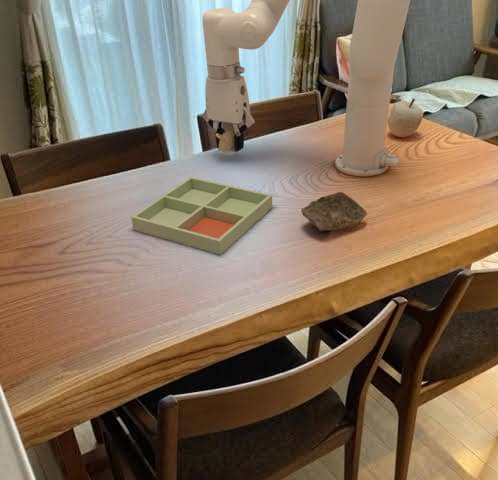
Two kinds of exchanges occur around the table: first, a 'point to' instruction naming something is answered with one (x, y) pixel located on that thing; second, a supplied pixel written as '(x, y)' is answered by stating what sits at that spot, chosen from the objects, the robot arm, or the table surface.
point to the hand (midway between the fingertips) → (230, 147)
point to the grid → (203, 214)
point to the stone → (334, 212)
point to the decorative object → (404, 118)
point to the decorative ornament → (226, 141)
